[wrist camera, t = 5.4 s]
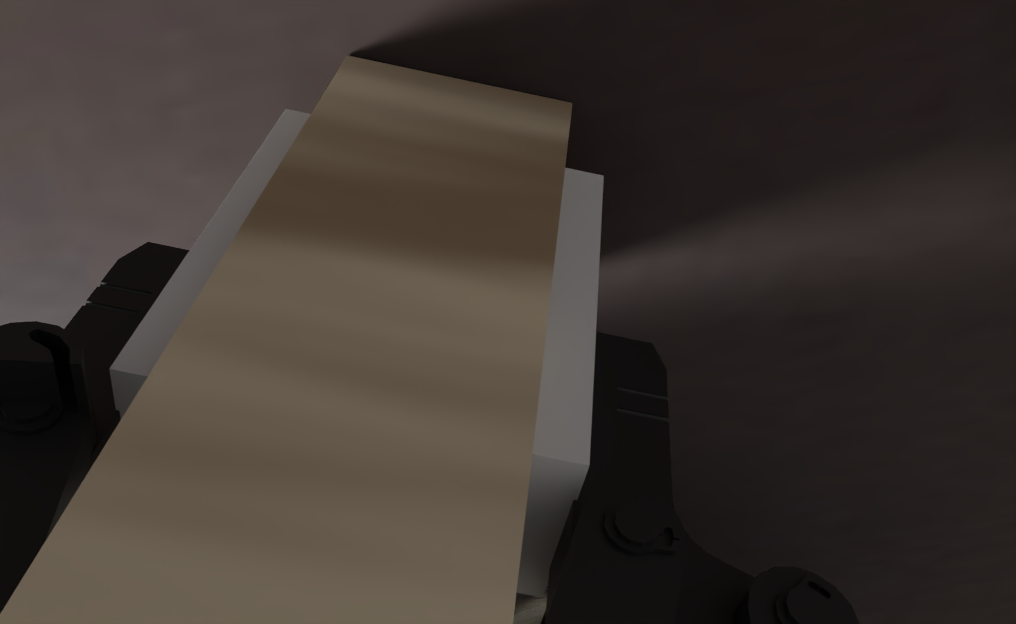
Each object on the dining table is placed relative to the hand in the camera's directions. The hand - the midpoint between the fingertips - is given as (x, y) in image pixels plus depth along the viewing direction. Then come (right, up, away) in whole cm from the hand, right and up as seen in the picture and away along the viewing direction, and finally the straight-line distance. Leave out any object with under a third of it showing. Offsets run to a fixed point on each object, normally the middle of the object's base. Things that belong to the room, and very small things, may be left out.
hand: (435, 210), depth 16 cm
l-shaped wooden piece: (-2, -7, +7) cm, 10 cm away
